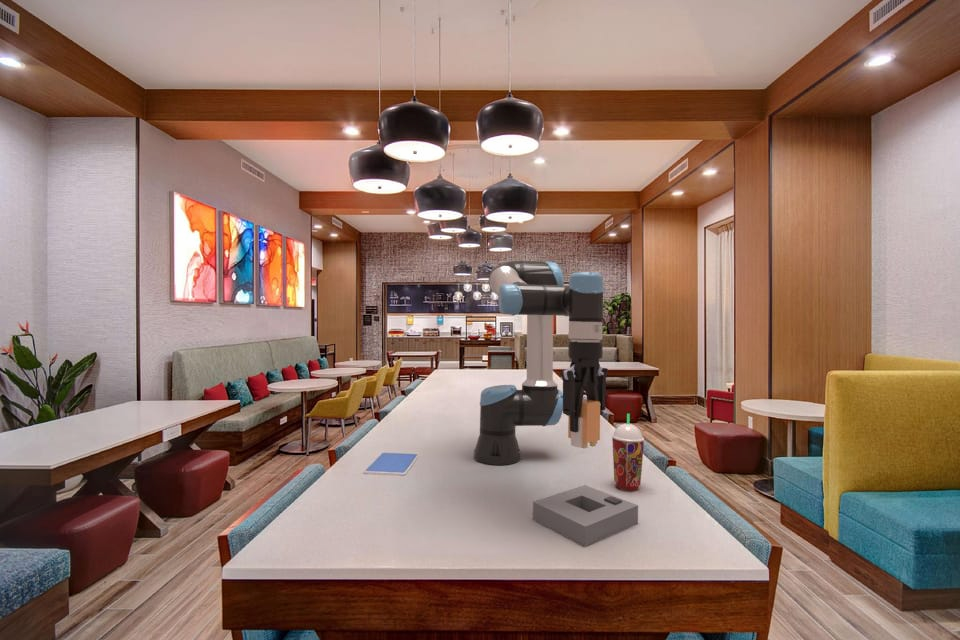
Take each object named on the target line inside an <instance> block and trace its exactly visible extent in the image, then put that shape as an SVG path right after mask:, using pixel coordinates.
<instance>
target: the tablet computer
mask: <svg viewBox="0 0 960 640" xmlns="http://www.w3.org/2000/svg"><path fill="white" fill-rule="evenodd" d="M419 457H420V454H417V453H405V452H404V453H403V452H402V453H401V452H399V453H398V452H397V453H395V452H381V454H380V455H378V456H377V457H376V458H375V460H374V461H372V462H371V464H369V465H368V466H367V467H366V468H365V469H364V470H363V474H364V475H378V476H380V475H381V476H400V477H401V476H405V475H407V473H408V472H409V471H410V470H411V467H413V465H414V464H415V462H416V461H417V460H418V458H419Z"/></svg>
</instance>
